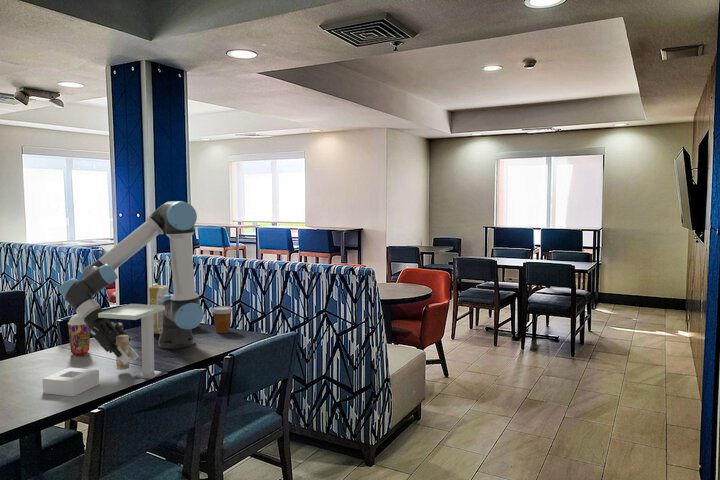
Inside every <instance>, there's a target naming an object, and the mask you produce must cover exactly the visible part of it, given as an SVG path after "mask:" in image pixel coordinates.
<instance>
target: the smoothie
mask: <svg viewBox="0 0 720 480" xmlns="http://www.w3.org/2000/svg"><path fill="white" fill-rule="evenodd" d="M67 325H68V326H67V327H68V336H69V348H70V353H71V354H72V356H74V357H80V356H86V355H88V354H89V351H90V343H91V340H90V339H91V338H90V337H91V335H90V334H89V332H90V331H91V328H89V327H88V326H87V324H86V323H85V322H84V319H82V318H81V317H80V316H79V315H78V313H75V314H74V315H73V316H72V317H71V318H70V319H69V321H68V322H67Z"/></svg>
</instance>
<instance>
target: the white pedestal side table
mask: <svg viewBox="0 0 720 480" xmlns="http://www.w3.org/2000/svg"><path fill="white" fill-rule="evenodd" d="M163 310H165V306H160V305H148V304H142V303H129V304H125V305H122V306H121V305H120V306H119V307H115V308H112V309H111V308H110V309H108V310H104V312H101V313H98V317H100V318H107V319H113V320H114V319H115V320H117V319H119V320H131V321H132V320H133V321H136V320H140V322H141V323H140V325H141V373H139V374H137V375H136V377H137V378H142V379H151V380H152V379H154V378H155V377H157V376H159V375H161V374H162V371H161V370H160V371H159V370H155V338H154V337H155V336H154V324H153V314H154V313H157V312H160V311H163Z"/></svg>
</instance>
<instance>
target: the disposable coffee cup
mask: <svg viewBox="0 0 720 480" xmlns="http://www.w3.org/2000/svg"><path fill="white" fill-rule="evenodd" d="M232 311H233V309H232V307H231V306H227V305H221V306H215V307H213V309H212V311H211V312H212V313H213V320H214V321H213V323H214V329H215V333H217V334H227V333H229V332H230V325H231V316H232Z"/></svg>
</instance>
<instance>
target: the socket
mask: <svg viewBox="0 0 720 480" xmlns="http://www.w3.org/2000/svg"><path fill="white" fill-rule="evenodd" d="M98 385H100V369H89V368H80V367H79V368H78V367H67V368H65V369H62V370H60V371H57V372H55V373H53V374H50V375H48V376H46V377H43V378H42V394H48V395H58V396H65V397H66V396H67V397H75V396H78V395H79V394H82V393H84V392H86V391H88V390H89V389H92V388H94V387H96V386H98Z"/></svg>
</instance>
